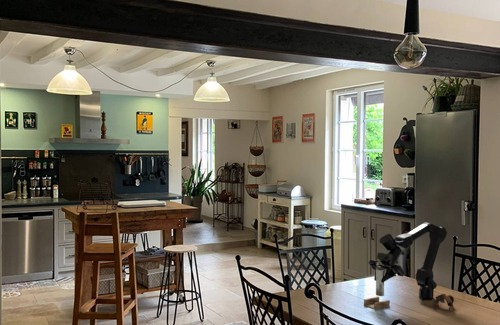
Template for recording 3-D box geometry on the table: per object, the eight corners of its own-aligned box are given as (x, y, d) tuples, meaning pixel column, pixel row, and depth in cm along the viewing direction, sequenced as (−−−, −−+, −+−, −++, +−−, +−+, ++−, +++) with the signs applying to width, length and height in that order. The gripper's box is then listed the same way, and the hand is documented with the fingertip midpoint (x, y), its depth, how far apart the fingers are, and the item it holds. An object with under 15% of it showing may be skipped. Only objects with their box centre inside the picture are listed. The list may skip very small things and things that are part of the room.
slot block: (377, 302, 257) (377, 296, 257) (389, 306, 250) (389, 300, 250) (363, 305, 251) (363, 299, 251) (375, 309, 244) (376, 303, 244)
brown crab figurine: (449, 314, 241) (440, 298, 243) (434, 317, 248) (426, 302, 250) (462, 304, 248) (453, 288, 250) (448, 307, 255) (439, 292, 257)
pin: (383, 293, 250) (384, 266, 250) (385, 296, 246) (385, 268, 246) (374, 293, 251) (375, 265, 250) (375, 296, 246) (376, 267, 246)
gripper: (371, 243, 258) (356, 267, 251) (401, 249, 243) (386, 275, 236) (380, 256, 263) (366, 280, 256) (410, 263, 248) (396, 289, 241)
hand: (378, 281), depth 247 cm, fingers closed on pin, 4 cm apart
